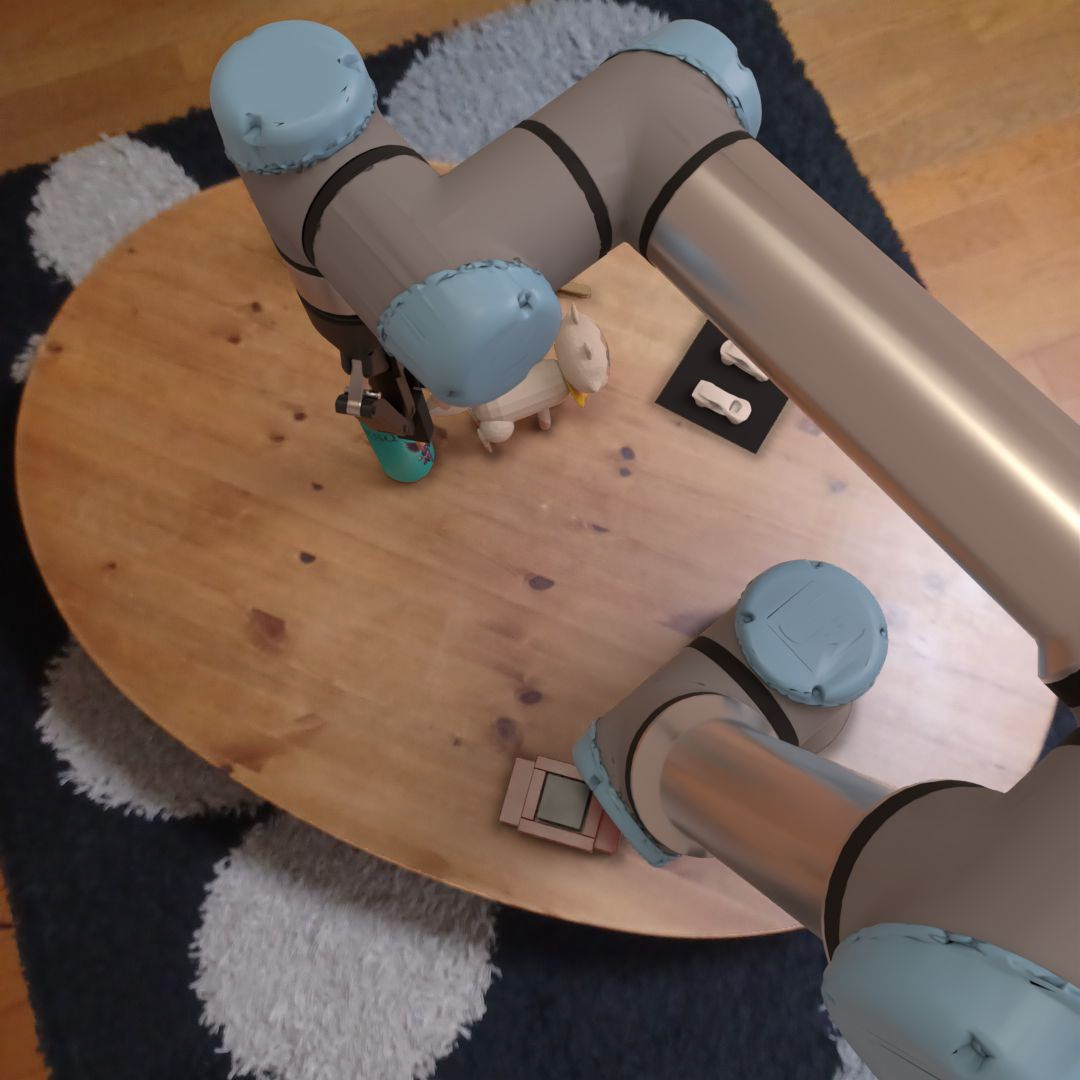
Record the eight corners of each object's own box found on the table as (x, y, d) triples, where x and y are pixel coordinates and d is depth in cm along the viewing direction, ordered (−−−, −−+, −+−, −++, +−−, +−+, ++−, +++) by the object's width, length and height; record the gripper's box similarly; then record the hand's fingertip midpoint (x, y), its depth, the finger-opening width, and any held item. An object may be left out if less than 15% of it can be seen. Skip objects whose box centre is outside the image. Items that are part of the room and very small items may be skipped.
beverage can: (430, 492, 105) (403, 429, 91) (377, 483, 106) (343, 419, 92) (442, 443, 107) (419, 373, 93) (390, 434, 108) (359, 364, 94)
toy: (624, 426, 107) (628, 353, 93) (456, 490, 105) (435, 427, 91) (591, 357, 110) (591, 277, 96) (428, 419, 108) (403, 347, 94)
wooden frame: (631, 785, 94) (633, 780, 91) (613, 860, 92) (614, 858, 88) (519, 754, 96) (515, 748, 92) (498, 827, 94) (494, 824, 90)
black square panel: (591, 786, 91) (591, 784, 89) (580, 831, 90) (580, 829, 88) (548, 775, 92) (547, 772, 90) (537, 819, 90) (536, 817, 89)
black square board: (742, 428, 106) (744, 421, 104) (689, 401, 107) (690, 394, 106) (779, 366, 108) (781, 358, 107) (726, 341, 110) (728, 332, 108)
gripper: (323, 167, 62) (392, 355, 85) (262, 350, 58) (351, 497, 81) (440, 185, 62) (478, 370, 84) (386, 372, 58) (441, 514, 80)
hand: (416, 432), depth 82 cm, fingers closed
